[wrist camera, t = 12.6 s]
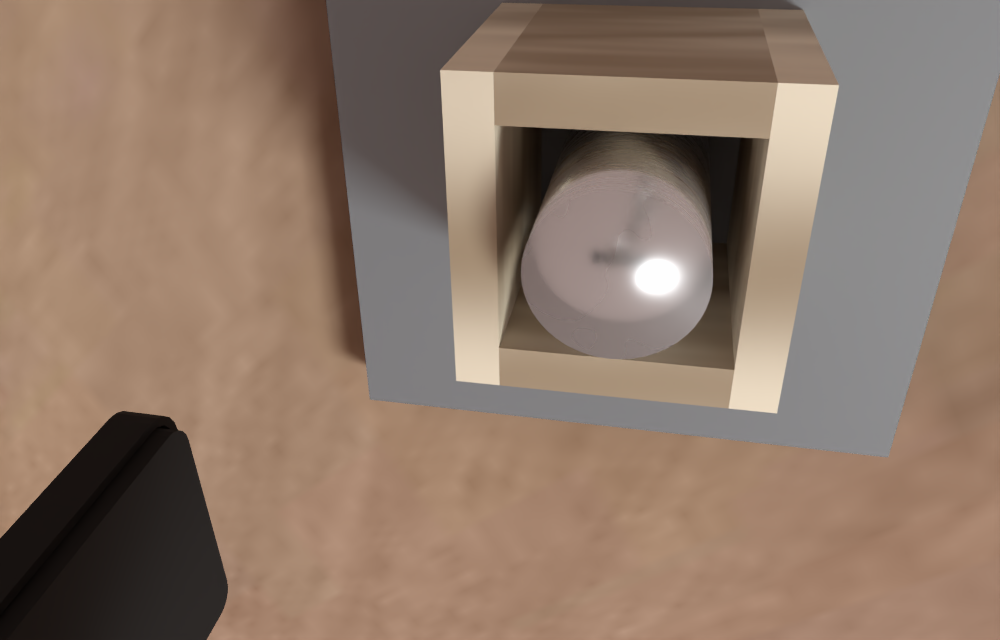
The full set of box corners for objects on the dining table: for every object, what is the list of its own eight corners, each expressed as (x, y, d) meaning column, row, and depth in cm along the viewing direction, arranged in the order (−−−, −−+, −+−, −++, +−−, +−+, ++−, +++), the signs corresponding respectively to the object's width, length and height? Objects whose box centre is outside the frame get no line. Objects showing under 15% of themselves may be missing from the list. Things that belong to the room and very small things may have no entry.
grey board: (321, -263, 20) (296, -267, 19) (1074, -281, 17) (1103, -286, 16) (383, 373, 29) (369, 399, 28) (879, 425, 27) (888, 457, 26)
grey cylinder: (569, 77, 22) (520, 184, 16) (717, 83, 21) (724, 197, 15) (564, 210, 23) (520, 350, 18) (700, 219, 23) (701, 367, 17)
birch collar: (502, 2, 21) (440, 70, 16) (803, 10, 20) (839, 84, 15) (505, 260, 25) (456, 380, 20) (760, 279, 23) (777, 413, 18)
